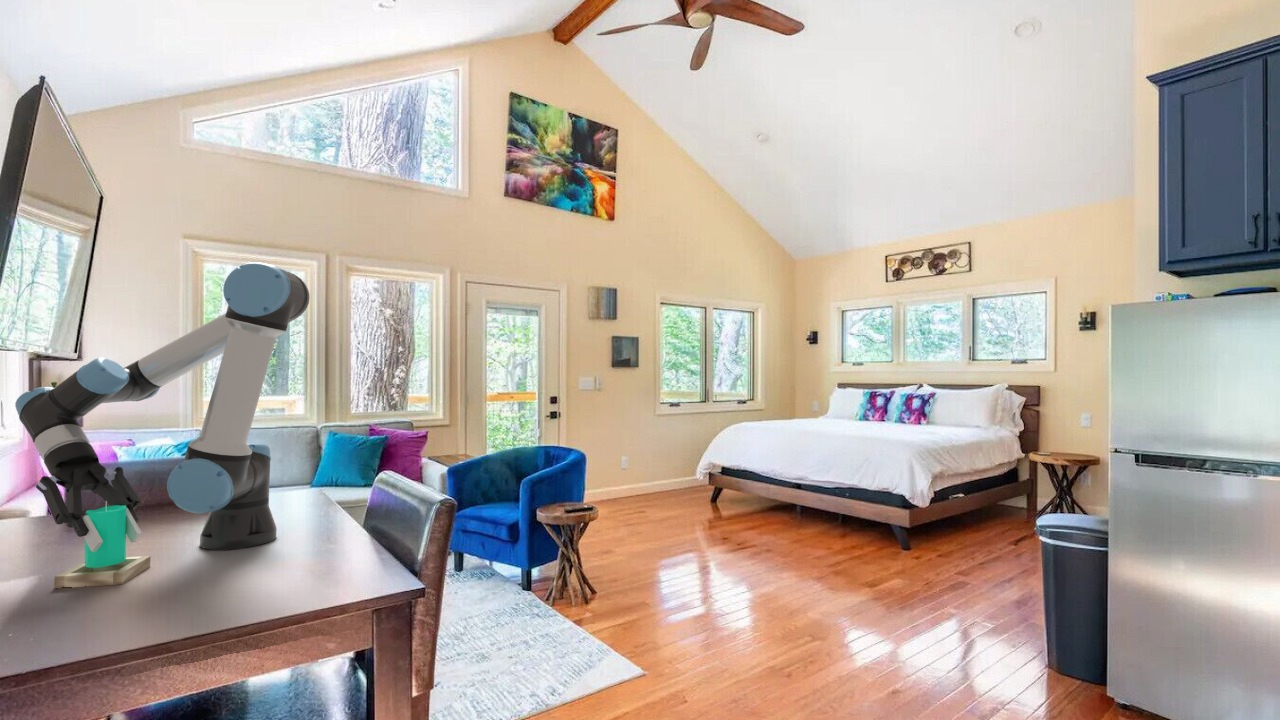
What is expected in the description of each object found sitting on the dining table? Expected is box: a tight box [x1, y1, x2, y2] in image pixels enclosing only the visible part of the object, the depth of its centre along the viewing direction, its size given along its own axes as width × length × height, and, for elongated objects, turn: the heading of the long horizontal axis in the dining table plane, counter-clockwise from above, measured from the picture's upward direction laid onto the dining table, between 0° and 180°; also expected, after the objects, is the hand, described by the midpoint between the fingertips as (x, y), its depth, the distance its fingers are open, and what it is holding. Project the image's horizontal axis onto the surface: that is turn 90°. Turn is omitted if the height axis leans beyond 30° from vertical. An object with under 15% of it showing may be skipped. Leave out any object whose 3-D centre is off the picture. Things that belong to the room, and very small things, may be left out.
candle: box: [84, 501, 127, 568], centre depth 119 cm, size 6×6×12 cm
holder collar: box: [53, 555, 152, 589], centre depth 119 cm, size 10×10×2 cm
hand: (117, 542), depth 118 cm, fingers closed on candle, 6 cm apart
